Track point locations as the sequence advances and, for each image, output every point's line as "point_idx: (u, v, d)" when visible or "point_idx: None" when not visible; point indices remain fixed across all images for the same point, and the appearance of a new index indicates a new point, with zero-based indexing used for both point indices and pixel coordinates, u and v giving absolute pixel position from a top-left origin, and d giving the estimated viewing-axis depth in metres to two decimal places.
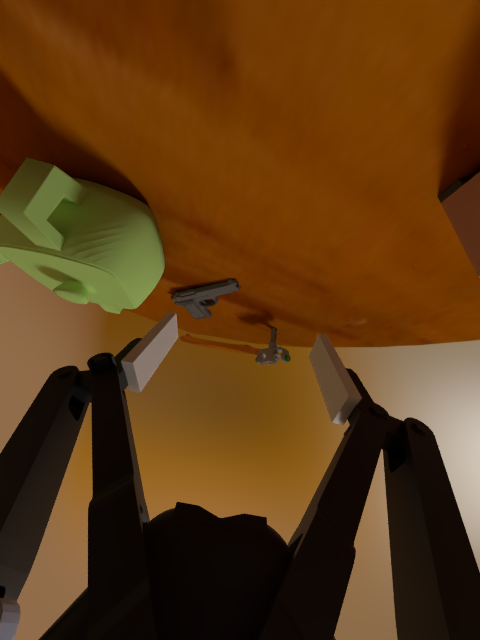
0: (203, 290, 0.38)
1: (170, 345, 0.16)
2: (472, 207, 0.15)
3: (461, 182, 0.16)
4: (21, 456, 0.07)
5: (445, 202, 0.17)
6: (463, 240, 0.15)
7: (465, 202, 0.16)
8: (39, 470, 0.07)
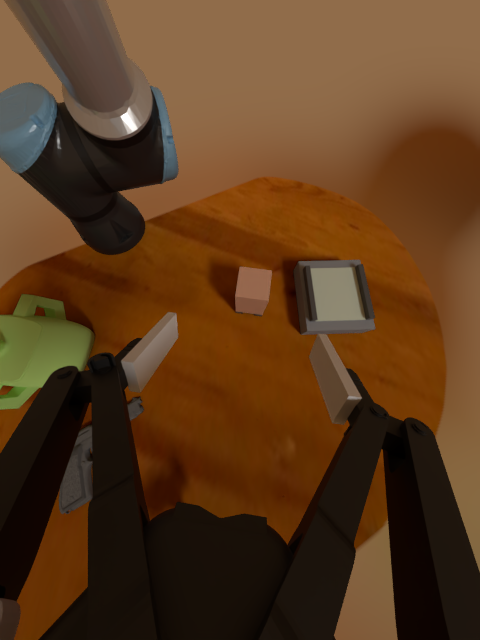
0: None
1: (170, 345, 0.16)
2: None
3: None
4: (20, 457, 0.07)
5: None
6: (235, 302, 0.36)
7: None
8: (39, 470, 0.07)
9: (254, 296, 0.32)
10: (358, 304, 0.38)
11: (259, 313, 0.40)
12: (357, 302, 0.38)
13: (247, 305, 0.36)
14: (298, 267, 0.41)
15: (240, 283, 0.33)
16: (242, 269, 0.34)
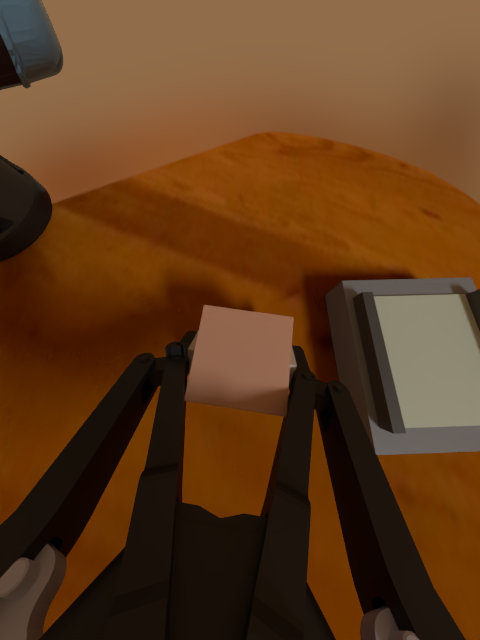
0: None
1: None
2: None
3: None
4: (99, 426, 0.08)
5: None
6: None
7: None
8: (108, 443, 0.08)
9: (241, 401, 0.11)
10: None
11: None
12: None
13: None
14: (341, 293, 0.20)
15: (204, 356, 0.11)
16: (210, 313, 0.12)
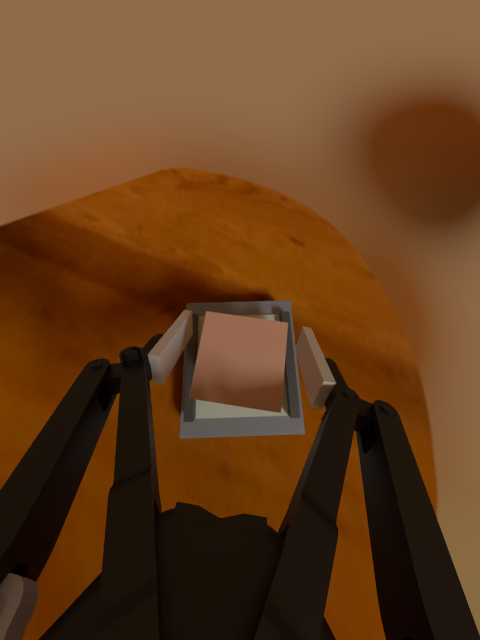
0: None
1: (186, 341, 0.17)
2: None
3: None
4: (53, 441, 0.07)
5: None
6: None
7: None
8: (67, 456, 0.07)
9: (240, 399, 0.12)
10: None
11: None
12: None
13: None
14: None
15: (206, 358, 0.12)
16: (212, 319, 0.13)
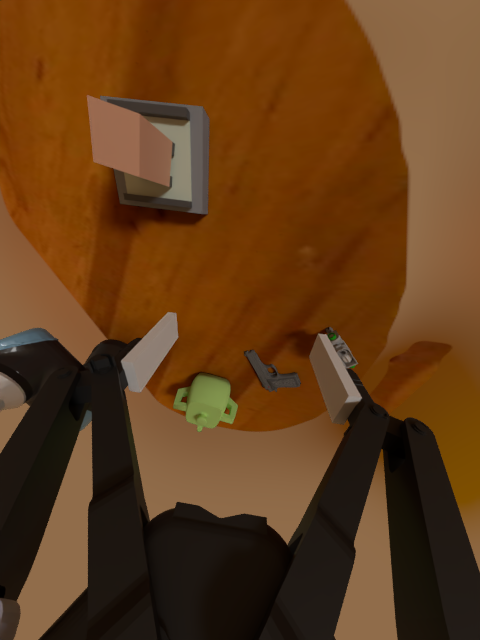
0: (255, 370, 0.57)
1: (170, 345, 0.16)
2: None
3: None
4: (20, 457, 0.07)
5: None
6: None
7: None
8: (39, 470, 0.07)
9: (136, 142, 0.22)
10: (168, 126, 0.29)
11: (169, 146, 0.28)
12: (166, 127, 0.29)
13: (155, 162, 0.26)
14: (128, 204, 0.35)
15: (119, 164, 0.23)
16: (97, 157, 0.23)
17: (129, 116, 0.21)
